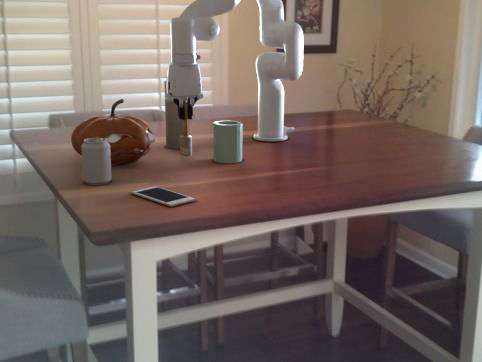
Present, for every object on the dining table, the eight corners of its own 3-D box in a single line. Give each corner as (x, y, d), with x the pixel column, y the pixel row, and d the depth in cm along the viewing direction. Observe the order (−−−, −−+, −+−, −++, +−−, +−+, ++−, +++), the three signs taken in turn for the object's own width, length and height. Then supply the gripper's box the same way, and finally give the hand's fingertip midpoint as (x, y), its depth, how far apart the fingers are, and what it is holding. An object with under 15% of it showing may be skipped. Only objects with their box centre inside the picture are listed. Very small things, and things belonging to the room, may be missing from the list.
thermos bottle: (192, 144, 233) (191, 63, 226) (184, 149, 225) (183, 65, 218) (171, 143, 234) (169, 62, 227) (162, 147, 227) (160, 64, 220)
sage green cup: (233, 155, 218) (234, 119, 215) (247, 161, 211) (247, 124, 208) (208, 158, 213) (208, 121, 210) (221, 164, 206) (221, 126, 203)
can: (86, 178, 186) (84, 136, 183) (114, 178, 186) (112, 136, 183) (80, 185, 179) (78, 141, 175) (109, 185, 179) (107, 142, 176)
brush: (189, 153, 213) (188, 100, 208) (194, 155, 210) (192, 101, 205) (178, 154, 211) (177, 100, 207) (183, 156, 208) (182, 102, 204)
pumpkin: (116, 175, 190) (113, 109, 185) (54, 163, 202) (50, 101, 197) (172, 159, 211) (171, 99, 206) (113, 149, 223) (110, 92, 218)
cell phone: (170, 207, 162) (170, 204, 162) (131, 193, 172) (131, 191, 172) (195, 200, 167) (195, 198, 167) (155, 188, 178) (155, 185, 178)
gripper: (202, 57, 210) (203, 115, 215) (154, 59, 201) (157, 119, 206) (212, 59, 204) (213, 119, 209) (164, 61, 195) (166, 123, 200)
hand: (185, 118), depth 207 cm, fingers closed on brush
